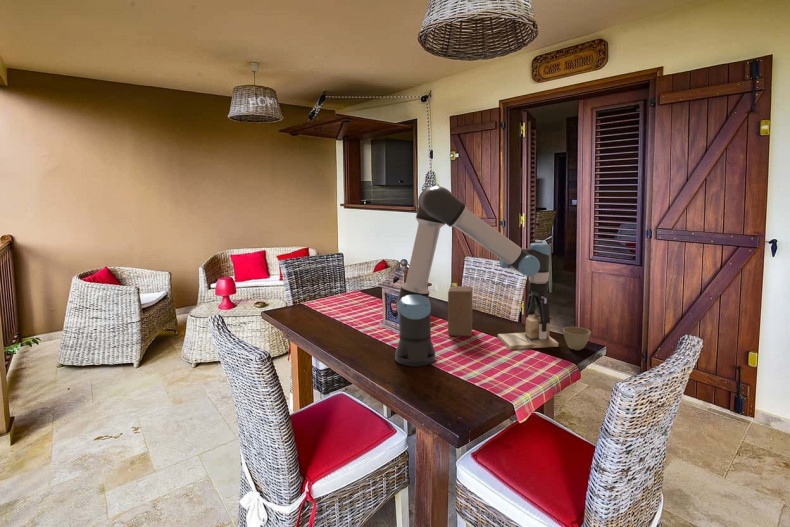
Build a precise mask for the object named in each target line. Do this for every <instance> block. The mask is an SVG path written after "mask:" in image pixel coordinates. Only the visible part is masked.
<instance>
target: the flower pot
mask: <svg viewBox="0 0 790 527" xmlns="http://www.w3.org/2000/svg"><path fill="white" fill-rule="evenodd" d="M562 332H563V338H564V341H565V342H566V345H567V347H568V348H569V349H571V350H573V349H574V350H573V351H582V350H583V349H584V348H585V347H586V345H587V344H588V342H589V340H590V336H591V333H592V332H591V330H589V329H587V328H584V327H580V326H579V327H578V326H566V327H564V328H563V329H562ZM581 349H582V350H581Z"/></svg>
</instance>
